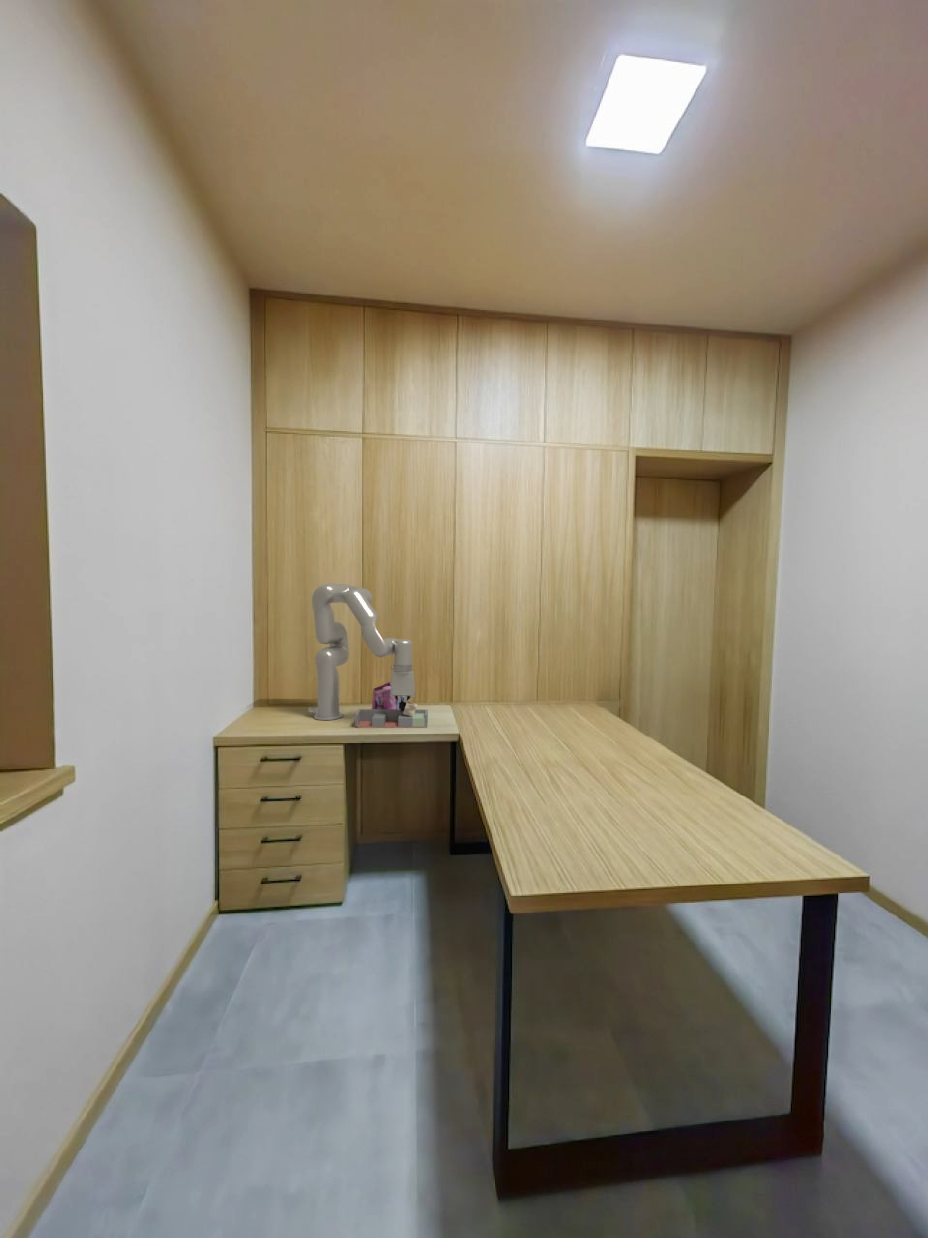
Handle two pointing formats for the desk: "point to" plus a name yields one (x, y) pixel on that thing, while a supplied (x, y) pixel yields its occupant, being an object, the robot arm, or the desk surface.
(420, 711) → the track
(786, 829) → the desk surface
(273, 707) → the desk surface
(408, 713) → the cream block
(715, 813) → the desk surface
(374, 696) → the gum box
